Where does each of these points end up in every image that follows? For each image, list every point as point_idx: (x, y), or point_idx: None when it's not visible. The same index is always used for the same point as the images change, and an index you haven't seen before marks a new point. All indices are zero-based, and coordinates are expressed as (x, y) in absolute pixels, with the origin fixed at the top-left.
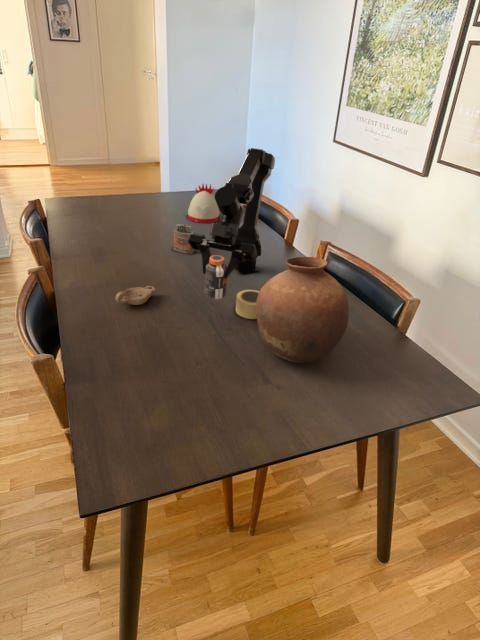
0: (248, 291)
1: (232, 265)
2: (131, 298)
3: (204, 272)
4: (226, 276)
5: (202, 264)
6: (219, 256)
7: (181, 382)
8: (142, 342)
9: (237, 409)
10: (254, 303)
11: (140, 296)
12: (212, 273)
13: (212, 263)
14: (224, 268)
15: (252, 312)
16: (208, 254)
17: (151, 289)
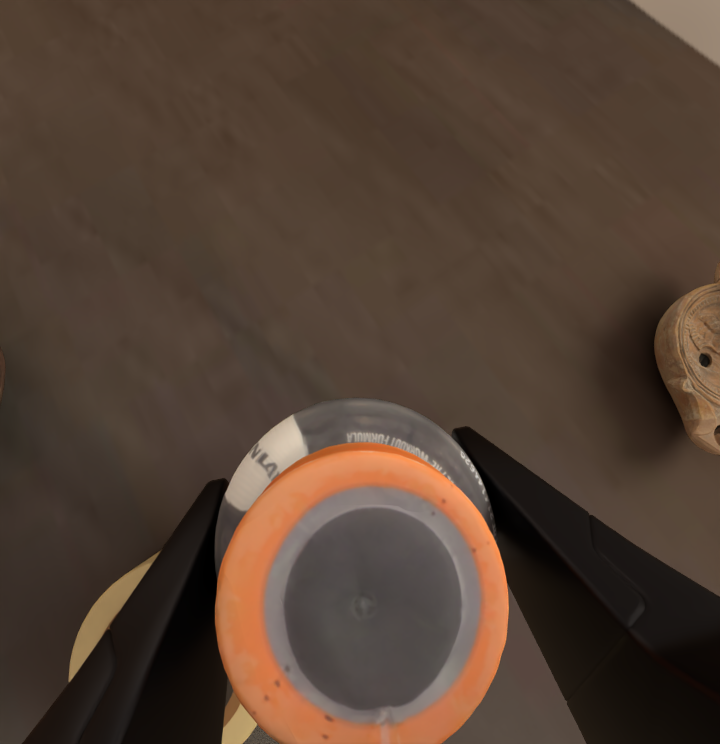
0: (224, 720)
1: (98, 645)
2: (711, 289)
3: (454, 437)
4: (204, 489)
5: (537, 477)
6: (359, 706)
7: (222, 38)
8: (464, 140)
9: (5, 19)
10: (127, 592)
11: (699, 348)
12: (335, 399)
13: (373, 445)
14: (224, 538)
15: (156, 553)
16: (629, 728)
17: (709, 422)
